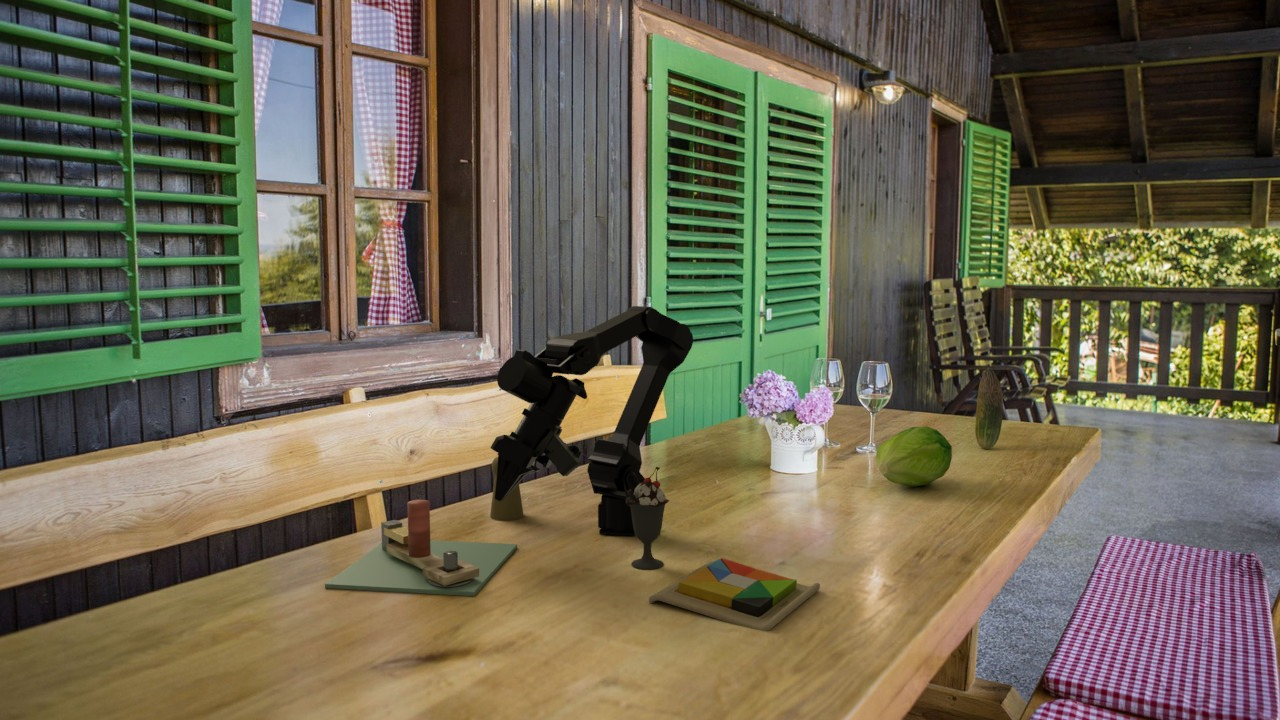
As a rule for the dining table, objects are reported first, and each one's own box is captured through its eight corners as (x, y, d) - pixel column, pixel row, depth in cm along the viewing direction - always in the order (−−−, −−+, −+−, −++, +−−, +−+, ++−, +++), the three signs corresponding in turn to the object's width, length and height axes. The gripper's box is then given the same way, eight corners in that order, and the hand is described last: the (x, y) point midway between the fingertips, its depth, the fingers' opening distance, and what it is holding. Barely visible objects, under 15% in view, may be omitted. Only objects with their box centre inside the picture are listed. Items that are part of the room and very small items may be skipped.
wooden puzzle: (772, 637, 118) (773, 610, 117) (644, 607, 128) (644, 583, 127) (823, 594, 132) (823, 570, 132) (704, 571, 142) (704, 548, 142)
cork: (517, 521, 167) (516, 460, 166) (485, 519, 168) (484, 459, 167) (527, 512, 173) (527, 453, 172) (496, 510, 174) (496, 452, 173)
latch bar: (479, 576, 135) (478, 513, 134) (444, 585, 131) (443, 521, 130) (411, 546, 148) (409, 490, 147) (377, 554, 144) (375, 496, 143)
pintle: (479, 577, 138) (478, 547, 137) (465, 593, 131) (464, 561, 131) (437, 575, 139) (437, 545, 138) (421, 590, 132) (420, 559, 132)
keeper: (381, 553, 149) (380, 522, 148) (396, 549, 151) (395, 519, 150) (403, 565, 143) (403, 533, 143) (419, 561, 145) (418, 530, 144)
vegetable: (971, 445, 234) (974, 366, 232) (997, 446, 234) (1001, 366, 231) (976, 450, 228) (980, 369, 226) (1003, 451, 228) (1007, 369, 225)
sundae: (674, 560, 146) (675, 465, 144) (661, 573, 140) (661, 475, 138) (634, 555, 148) (634, 462, 146) (619, 568, 142) (619, 471, 140)
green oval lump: (850, 490, 189) (852, 432, 188) (903, 474, 203) (904, 420, 202) (912, 503, 179) (914, 442, 178) (963, 485, 193) (965, 428, 192)
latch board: (517, 547, 152) (517, 544, 152) (474, 596, 130) (473, 592, 130) (388, 541, 155) (388, 538, 155) (324, 588, 133) (324, 583, 133)
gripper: (581, 434, 137) (530, 529, 136) (599, 438, 155) (553, 522, 154) (516, 398, 138) (464, 492, 137) (541, 406, 157) (496, 489, 156)
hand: (498, 500), depth 146 cm, fingers closed
